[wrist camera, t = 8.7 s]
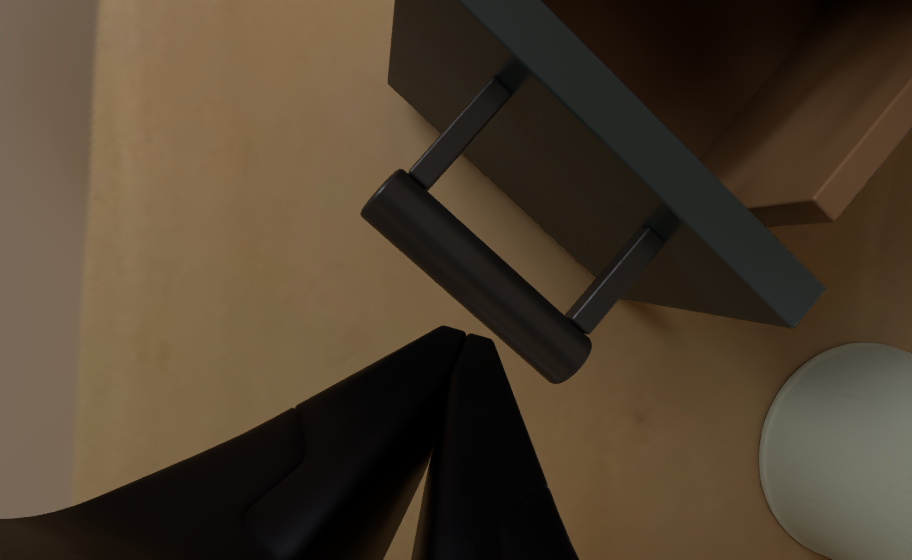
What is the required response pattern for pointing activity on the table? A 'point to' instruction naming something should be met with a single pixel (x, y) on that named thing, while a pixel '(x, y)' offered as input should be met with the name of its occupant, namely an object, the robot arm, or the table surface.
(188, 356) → the table surface
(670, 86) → the drawer
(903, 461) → the can
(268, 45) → the table surface
